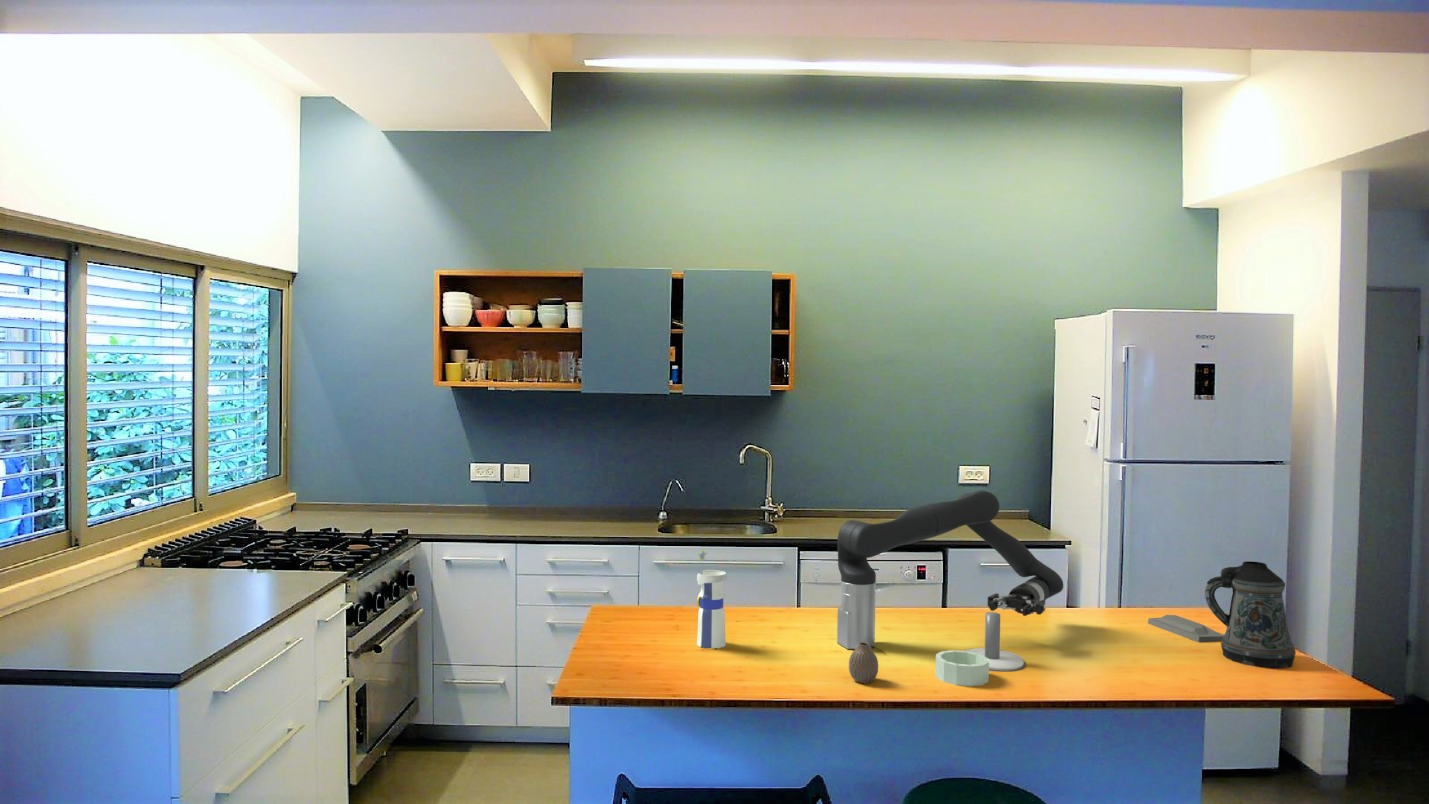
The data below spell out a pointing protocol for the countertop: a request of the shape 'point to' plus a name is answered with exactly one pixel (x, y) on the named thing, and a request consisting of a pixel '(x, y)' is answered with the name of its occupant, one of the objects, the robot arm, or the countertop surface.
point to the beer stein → (1253, 616)
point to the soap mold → (1186, 628)
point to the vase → (863, 664)
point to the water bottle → (711, 608)
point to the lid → (997, 647)
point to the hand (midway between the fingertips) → (1007, 609)
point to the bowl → (962, 668)
